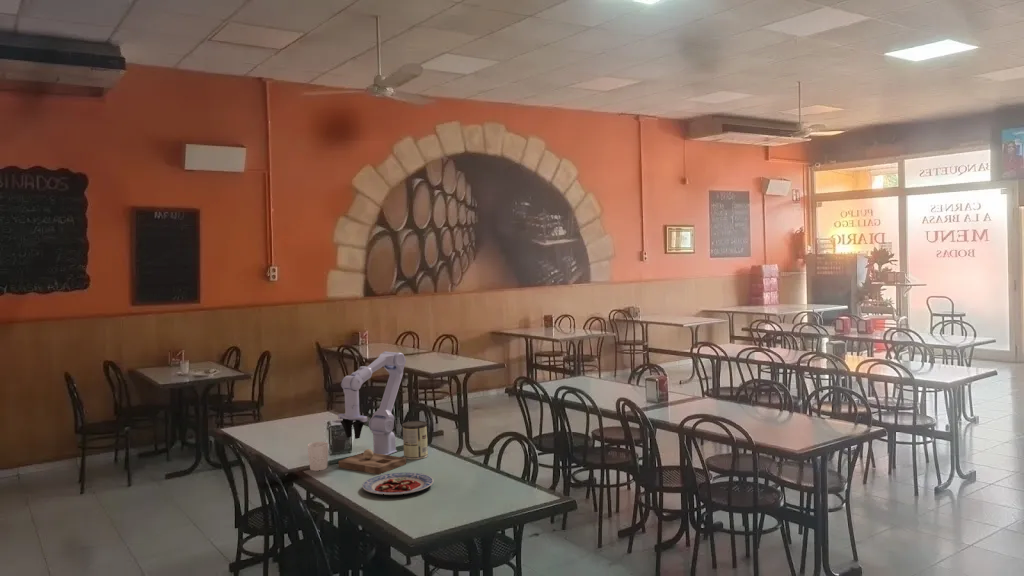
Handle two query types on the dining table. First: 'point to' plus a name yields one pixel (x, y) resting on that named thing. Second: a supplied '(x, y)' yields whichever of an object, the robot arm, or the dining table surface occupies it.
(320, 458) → the white cup
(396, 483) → the ceramic plate
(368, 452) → the ball
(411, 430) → the coffee can
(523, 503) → the dining table surface
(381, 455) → the board
